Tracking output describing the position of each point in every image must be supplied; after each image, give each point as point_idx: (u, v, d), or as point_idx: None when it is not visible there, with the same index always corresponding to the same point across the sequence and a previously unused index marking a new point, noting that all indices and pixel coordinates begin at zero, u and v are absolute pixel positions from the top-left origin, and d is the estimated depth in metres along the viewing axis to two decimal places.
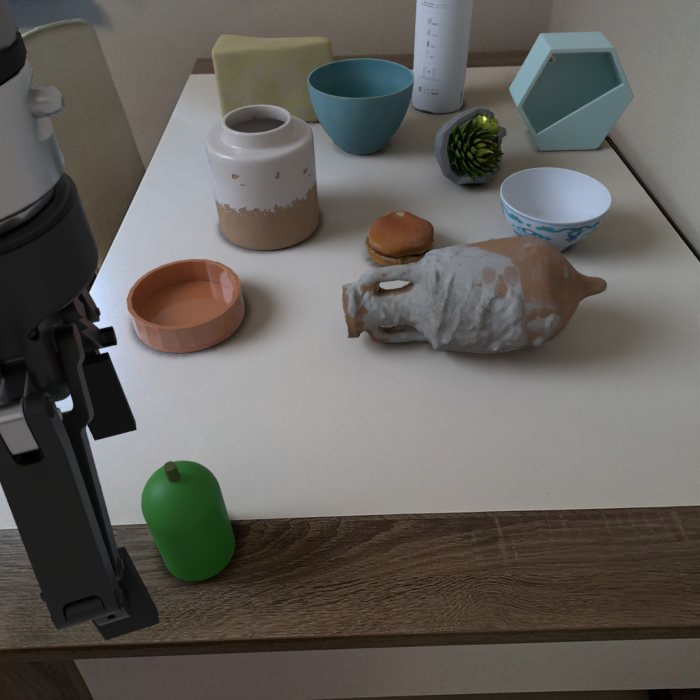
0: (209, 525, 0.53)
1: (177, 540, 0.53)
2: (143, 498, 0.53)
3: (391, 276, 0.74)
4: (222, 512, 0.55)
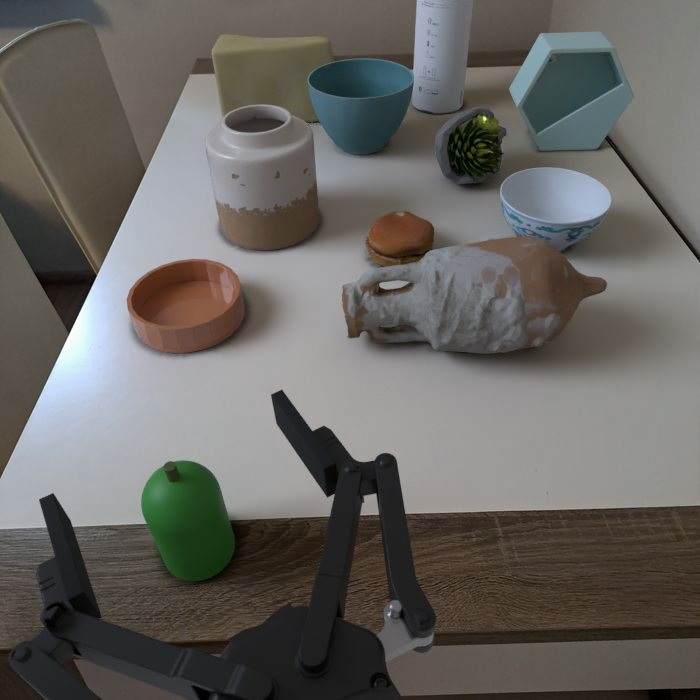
0: (209, 525, 0.53)
1: (177, 540, 0.53)
2: (143, 498, 0.53)
3: (391, 276, 0.74)
4: (222, 512, 0.55)
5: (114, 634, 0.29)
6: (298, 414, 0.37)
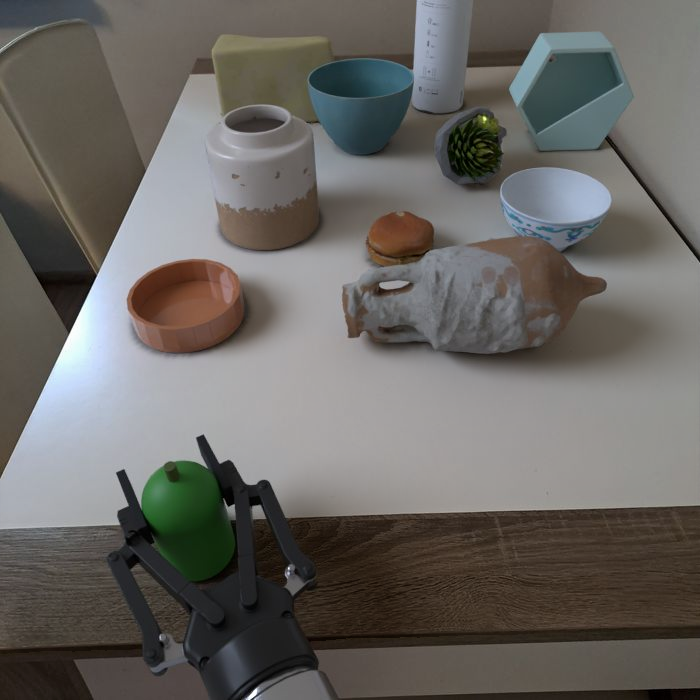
0: (209, 525, 0.53)
1: (177, 540, 0.53)
2: (143, 498, 0.53)
3: (391, 276, 0.74)
4: (222, 512, 0.55)
5: (157, 558, 0.50)
6: (212, 452, 0.57)
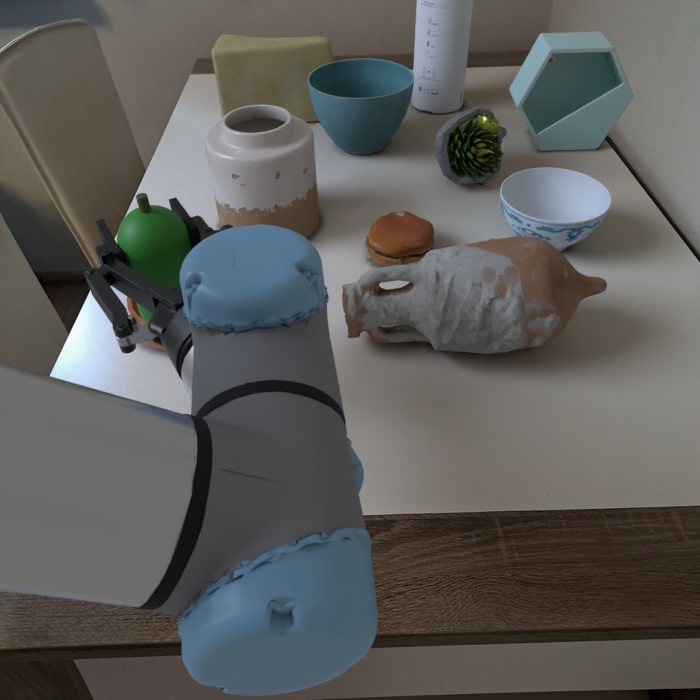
0: (178, 258, 0.60)
1: (148, 269, 0.59)
2: (118, 231, 0.59)
3: (391, 276, 0.74)
4: None
5: (129, 271, 0.56)
6: (182, 207, 0.63)
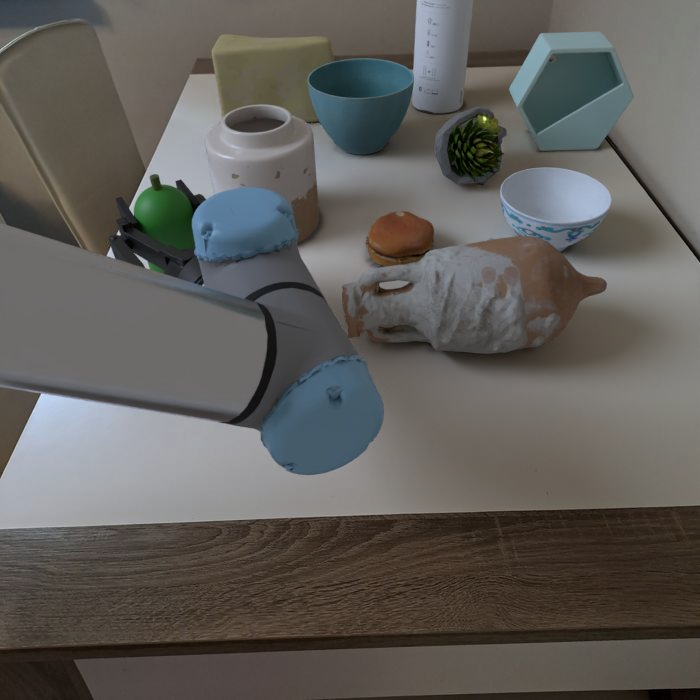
0: (184, 228, 0.73)
1: (160, 237, 0.72)
2: (135, 206, 0.72)
3: (391, 276, 0.74)
4: None
5: (145, 237, 0.69)
6: (187, 187, 0.76)
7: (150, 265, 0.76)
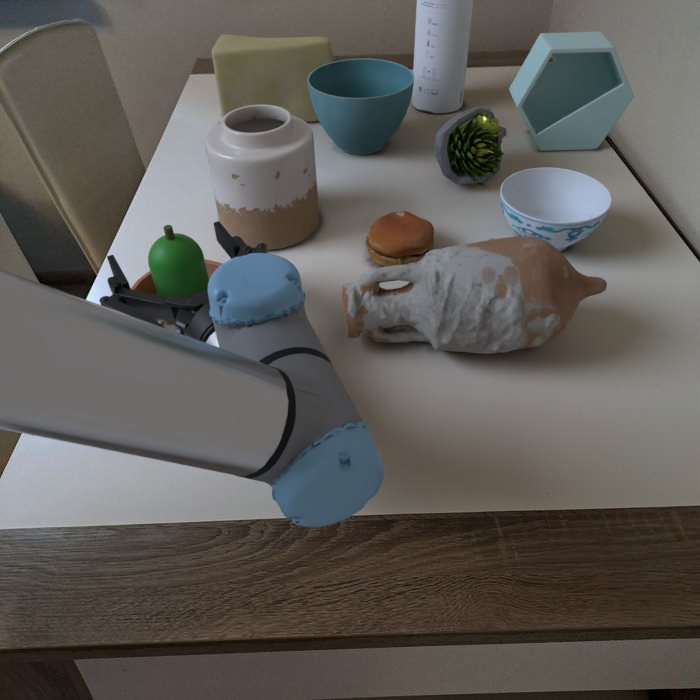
0: (195, 274, 0.77)
1: (173, 283, 0.77)
2: (149, 254, 0.77)
3: (391, 276, 0.74)
4: (204, 271, 0.79)
5: (141, 294, 0.72)
6: (225, 229, 0.81)
7: None
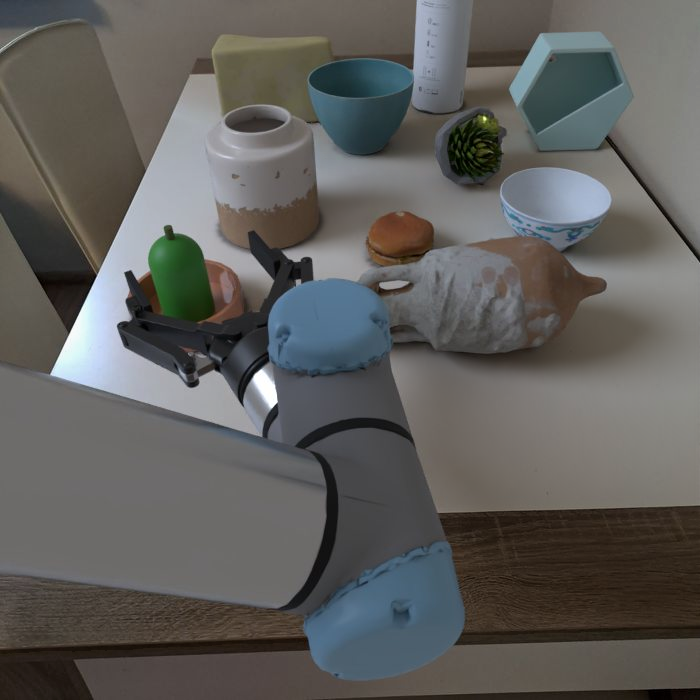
0: (195, 274, 0.77)
1: (173, 283, 0.77)
2: (149, 254, 0.77)
3: (391, 276, 0.74)
4: (204, 271, 0.79)
5: (166, 319, 0.60)
6: (262, 240, 0.69)
7: (163, 307, 0.81)
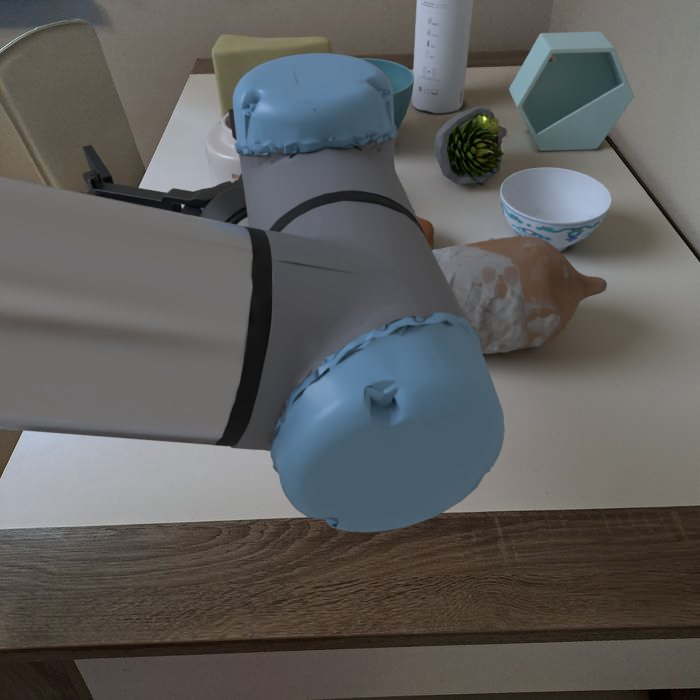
0: None
1: None
2: None
3: None
4: None
5: (129, 189, 0.51)
6: None
7: None
